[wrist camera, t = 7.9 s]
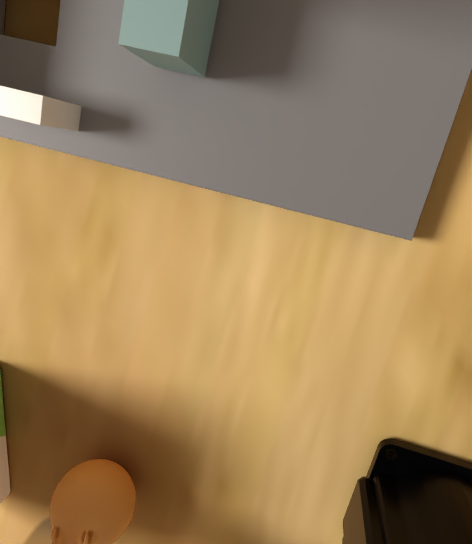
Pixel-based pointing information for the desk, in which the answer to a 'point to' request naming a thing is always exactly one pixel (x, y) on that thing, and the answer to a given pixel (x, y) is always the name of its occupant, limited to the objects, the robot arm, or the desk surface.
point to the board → (266, 102)
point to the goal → (39, 109)
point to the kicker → (170, 32)
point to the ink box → (3, 453)
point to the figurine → (92, 504)
